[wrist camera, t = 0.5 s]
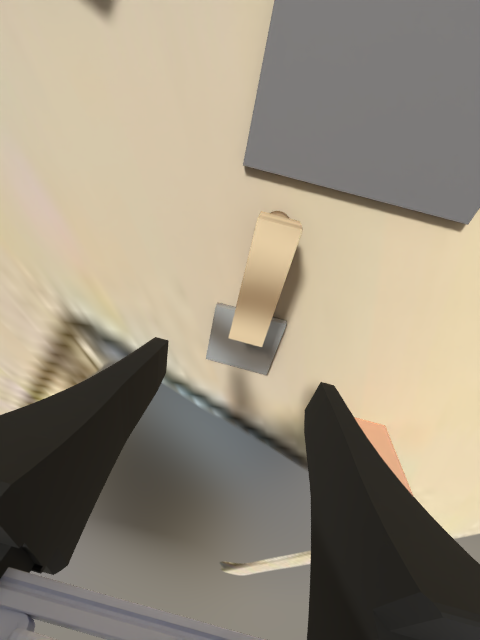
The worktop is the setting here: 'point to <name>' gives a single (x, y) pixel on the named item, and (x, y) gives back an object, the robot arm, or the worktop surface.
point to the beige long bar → (257, 298)
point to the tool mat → (374, 101)
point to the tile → (383, 447)
